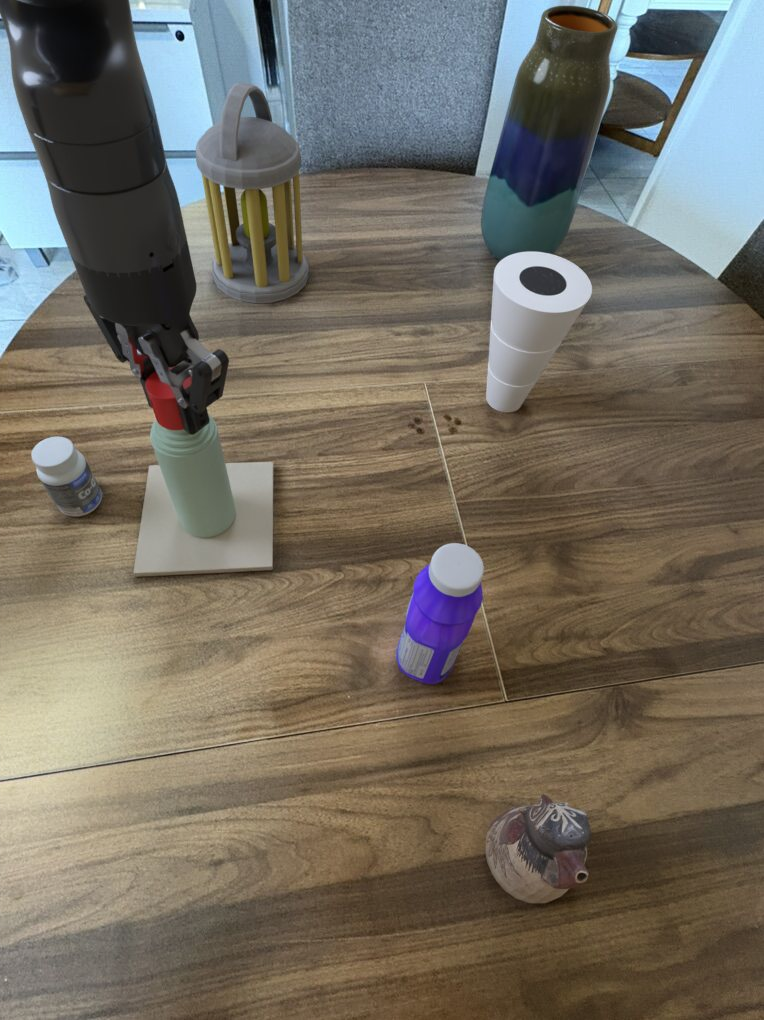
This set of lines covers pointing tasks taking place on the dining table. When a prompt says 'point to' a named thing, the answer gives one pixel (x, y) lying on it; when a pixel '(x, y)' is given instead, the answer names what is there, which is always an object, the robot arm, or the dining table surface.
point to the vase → (548, 133)
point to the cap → (164, 402)
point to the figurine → (539, 850)
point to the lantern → (253, 201)
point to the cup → (529, 321)
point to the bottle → (440, 613)
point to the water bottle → (196, 478)
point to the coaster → (230, 551)
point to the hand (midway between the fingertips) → (179, 415)
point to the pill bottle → (66, 476)
